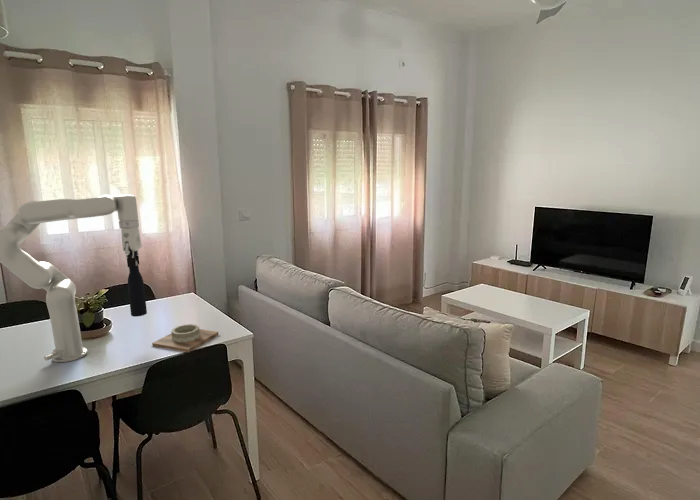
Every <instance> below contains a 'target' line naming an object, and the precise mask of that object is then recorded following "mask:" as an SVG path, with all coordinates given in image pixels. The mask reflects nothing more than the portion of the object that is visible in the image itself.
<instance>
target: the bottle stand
mask: <svg viewBox="0 0 700 500" xmlns="http://www.w3.org/2000/svg"><path fill="white" fill-rule="evenodd" d="M170 332H171V333H169V334H167V335H165V336H164V337H161V338H160V339H157V340H155V341H154V342H152V347H155V348H161V349H166V350H171V351H172V350H173V351H178V352H183V353H191V352H193V351H194V350H195V349H197V348H200V347H201V346H202V345H204V344H206V343H208V342H209V341H211V340H212V339H214V338H217V337H218V336H219V331H216V330H208V329H200V326H199V325H197V324H193V323H188V324H183V325H179V326H176V327H174V328H172V329H171V331H170ZM190 351H191V352H190Z"/></svg>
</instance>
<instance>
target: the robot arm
mask: <svg viewBox="0 0 700 500" xmlns="http://www.w3.org/2000/svg"><path fill="white" fill-rule="evenodd" d="M137 204H138V203H137V197H136V196H135V195H134V194H121V195H120V194H119V195H112V194H103V195H101V196H98V197H90V198H89V197H87V198H79V199H76V198H58V199H49V200H47V199H46V200H38V201H36V200H31V201H28V202H24V203H23V204H21V205H20V206H19V208H18V210H17V213H16V214H15V215H14V216H13V217H12V219H10V220H9V221H8V223H6V224H5V225H4V226H1V227H0V263H1V265H3V266H4V267H5V268H7V269H8V270H9V271H10V272H12V273H13V275H15V277H16V276H17V278H19V279H20V280H21V281H23V282H24V283H25V284H26V285H28V287H30V288H32V289H36V290H40V289H43V290H45V291H46V295H45V301H46V302H45V303H46V306H47V310H48V314H49V319H50V320H49V321H50V324H51V330H52V336H53V342H54V349H52V352H51V353H50V354H47V355H45V356H44V357H43V360H45V361H49V360H52V361H53V362H54V363H66V362H72V361H75V360H79V359H81V358H83V357H85V356H86V355H87V354H88V352H89V351H88V349H87V348H86V347H84V346H83V341H82V335H81V333H82V332H81V328H80V322H79V316H78V315H79V314H78V310H77V306H76V299H75V296H76V293H77V286H76V284H75V282H74V281H73V280H72V279H70V278H69V277H68V276H67V275H66V274H64V273H63V272H62V271H60V269H58V268H57V267H56V266H55V265H53V264H51V263H50V262H47V261H41V260H40V261H39V260H36V259H35V258H33V257H32V256H31V255H30V254H29V253H28V252H26V251H24V250H23V249H21V247H20V245H21V244H22V243H23V242H25V241H26V240H27V239H28V238H29V237H30V235H31V234H32V233H33V232H34V231H35V230H37V228H38V227H39V226H40V224H44V223H51V222H59V221H68V220H69V221H70V220H77V219H85V218H95V217H104V216H108V215H111V214H113V213H114V212H117V216H118V217H117V219H118V226H119V229H120V231H121V246H122V250H123V251H124V254H125V256H126V257H125V258H126V264H127V268H129V267H136V262H135V261H137V263H138V264H137V265H138V266H139V265H140V259H139V250H140V249H141V248H142V241H141V233H140V223H139V216H138V215H139V214H138V205H137ZM129 250H132V251H129ZM134 251H137V256H136V260H135V258H134ZM130 252H132V254H131V253H130Z"/></svg>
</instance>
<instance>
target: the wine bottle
mask: <svg viewBox="0 0 700 500" xmlns="http://www.w3.org/2000/svg"><path fill="white" fill-rule="evenodd" d="M129 251H132V250H129ZM130 253H131V254H132V252H130ZM136 256H138V255H137V251H134V258H135V260H136ZM135 262H136V267H128V271H129V273H128V277H127V291H128V292H127V293H128V301H129V308H130V316H131V317H143V316H145V315H147V314H148V312H147V311H148V309H147V302H146V300H147V299H146V290H145V283H144V282H145V281H144V278H143V276H142V274H141V272H140V269H139V268H140V267H139V265H137V264H138V263H137V261H135Z"/></svg>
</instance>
